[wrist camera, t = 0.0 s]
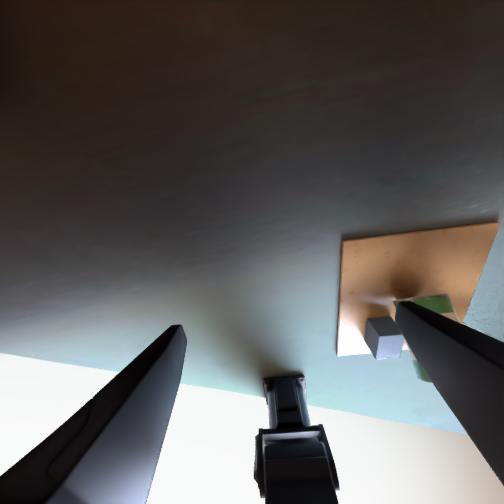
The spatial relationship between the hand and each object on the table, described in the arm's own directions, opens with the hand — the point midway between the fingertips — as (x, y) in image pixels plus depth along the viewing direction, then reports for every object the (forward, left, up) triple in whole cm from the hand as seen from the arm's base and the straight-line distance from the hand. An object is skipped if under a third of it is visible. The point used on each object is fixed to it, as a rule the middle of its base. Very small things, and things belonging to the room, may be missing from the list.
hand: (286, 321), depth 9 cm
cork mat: (-12, -16, -15) cm, 25 cm away
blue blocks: (-17, -16, -14) cm, 27 cm away
